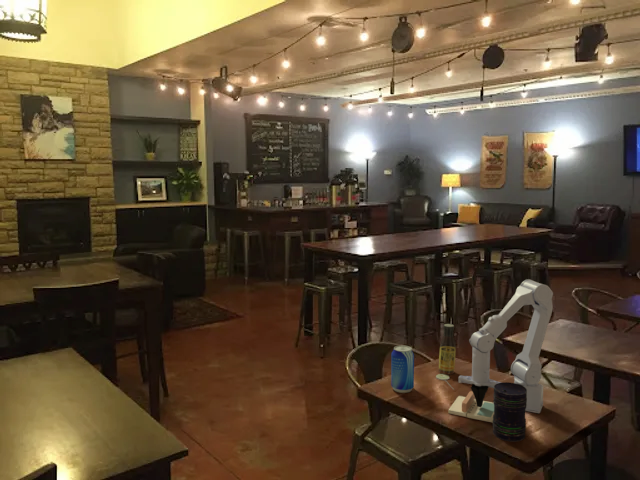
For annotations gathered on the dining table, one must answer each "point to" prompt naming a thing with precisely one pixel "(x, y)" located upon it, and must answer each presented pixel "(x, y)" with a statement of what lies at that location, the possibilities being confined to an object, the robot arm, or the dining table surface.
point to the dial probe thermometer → (443, 378)
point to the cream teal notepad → (482, 411)
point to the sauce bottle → (447, 351)
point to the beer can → (402, 369)
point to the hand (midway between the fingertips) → (479, 405)
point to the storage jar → (509, 411)
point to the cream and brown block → (462, 405)
